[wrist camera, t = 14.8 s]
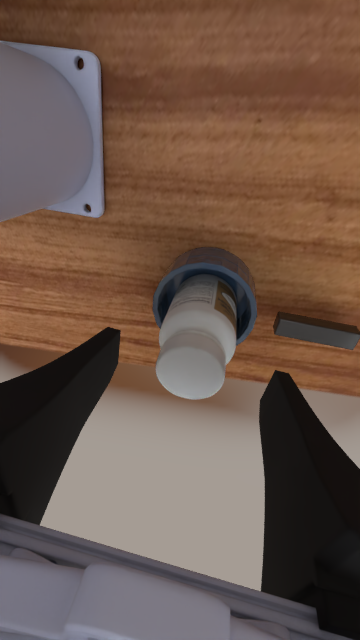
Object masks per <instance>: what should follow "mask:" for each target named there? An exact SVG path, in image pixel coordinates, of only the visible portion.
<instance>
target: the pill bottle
mask: <svg viewBox="0 0 360 640" xmlns="http://www.w3.org/2000/svg"><path fill="white" fill-rule="evenodd" d="M236 316H237V300H236V296H235V293H234V291H233V289H232V287H231V286H230V285H229V284H228V283H227V282H226V281H224V280H223V279H221V278H219V277H217V276H214V275H209V274H200V275H195V276H192V277H190V278H188V279H187V280H185V281H184V282H183V283H182V284H181V285H180V286H179V288H178V289H177V291H176V294H175V296H174V298H173V300H172V303H171V305H170V307H169V310H168V312H167V314H166V316H165V319H164V321H163V323H162V326H161V329H160V333H159V344H160V348H161V350H160V353H159V356H158V359H157V362H156V375H157V378H158V380H159V381H160V383H161V384H162V385H163V386H164V387H165V388H166V389H167V390H168V391H170V392H171V393H173V394H174V395H177V396H179V397H183V398H187V399H203V398H207V397H210V396H212V395H213V394H215V393H216V392H218V391H219V389H220V388H221V387H222V385H223V382H224V379H225V369H226V364H227V363H228V362H229V361H230V360H231V358H232V356H233V354H234V352H235V347H236Z"/></svg>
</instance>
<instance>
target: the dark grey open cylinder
mask: <svg viewBox="0 0 360 640" xmlns="http://www.w3.org/2000/svg"><path fill="white" fill-rule="evenodd" d="M200 274H209V275H214V276H217V277H219V278H221V279H223V280H224V281H226V282H227V283H228V284H229V285H230V286H231V287H232V289H233V291H234V293H235V296H236V300H237V316H236V346H237V345H238V344H240V343H241V342H243V341H244V340H245V339H246V337H247V336H248V335H249V333H250V332H251V331H252V329H253V327H254V324H255V321H256V317H257V306H256V294H255V284H254V281H253V277H252V275H251V272H250V271H249V269H248V267H247V266H246V265H245V264H244V262H242V261H241V260H240V259H239V258H238V257H237V256H235V255H234V254H232V253H230V252H228V251H225V250H223V249H219V248H213V247H202V248H196V249H192V250H190V251H187V252H185V253H183V254H182V255H180V256H179V257H178V258H176V259H175V260H174V261H173V263H172V264H171V265H170V266H169V267H168V269H167V271H166V272H165V274H164V276H163V278H162V279H161V281H160V283H159V285H158V287H157V289H156V291H155V293H154V296H153V313H154V317H155V320H156V323H157V325H158V326H159V328H160V329H161V326H162V323H163V321H164V319H165V316H166V314H167V312H168V310H169V307H170V305H171V303H172V300H173V298H174V296H175V294H176V291H177V289H178V288H179V286H180V285H181V284H182V283H183V282H184V281H185V280H187V279H188V278H190V277H192V276H195V275H200Z"/></svg>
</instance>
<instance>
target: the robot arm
mask: <svg viewBox="0 0 360 640" xmlns="http://www.w3.org/2000/svg"><path fill="white" fill-rule="evenodd" d="M80 58H82V59H83V62H84V67H83V68H82V69H81V70H80V69H79V68H78V60H79V59H80ZM87 204H88V205H90V207H91V212H90V211H88V210H87V208H86V205H87ZM39 209H48V210H54V211H60V212H66V213H71V214H77V215H83V216H89V217H95V218H98V217H100V216H102V215H103V214H104V210H105V208H104V171H103V134H102V97H101V66H100V61H99V59H98V57H97V56H96V55H95V54H94V53H92V52H89V51H84V50H76V49H67V48H59V47H50V46H42V45H33V44H24V43H16V42H7V41H0V222H3V221H6V220H9V219H12V218H15V217H18V216H21V215H24V214H27V213H30V212H33V211H36V210H39ZM120 332H121V330H118V329H114V328H110V327H107V328H105V329H104V330H102V331H101V332H99V333H98V334H97V335H95V336H94V337H92V338H91V339H89V340H88V341H86V342H85V343H83V344H81V345H80V346H78V347H77V348H75V349H73V350H72V351H70V352H68V353H67V354H65V355H63V356H61V357H60V358H58V359H56V360H54V361H52V362H51V363H48V364H46V365H44V366H42V367H40V368H38V369H36V370H33V371H31V372H29V373H26V374H24V375H21V376H19V377H16V378H13V379H11V380H8V381H5V382H2V383H0V640H360V469H359V468H358V467H357V466H356V465H355V463H354V462H353V461H352V460H351V459H350V458H349V457H348V456H347V454H346V453H345V452H344V451H343V450H342V449H341V447H340V446H339V445H338V444H337V443H336V442H335V440H334V439H333V438H332V437H331V435H330V434H329V433H328V431H327V430H326V429H325V427H324V426H323V425H322V423H321V422H320V421H319V419H318V418H317V416H316V415H315V413H314V412H313V411H312V409H311V408H310V406H309V405H308V403H307V401H306V400H305V398H304V397H303V395H302V393H301V392H300V390H299V389H298V387H297V385H296V384H295V382H294V381H293V379H292V378H291V376H290V374H289V373H285V372H281V371H277V370H275V372H274V374H273V376H272V378H271V380H270V382H269V384H268V386H267V388H266V390H265V392H264V394H263V396H262V398H261V400H260V412H259V413H260V414H259V423H260V435H261V444H262V454H263V464H264V476H265V522H264V523H265V524H264V551H263V569H262V584H261V592H260V591H257V590H254V589H250V588H247V587H244V586H240V585H237V584H234V583H230V582H226V581H224V580H220V579H217V578H213V577H210V576H207V575H203V574H200V573H197V572H193V571H190V570H186V569H183V568H180V567H177V566H173V565H170V564H167V563H163V562H160V561H157V560H153V559H150V558H147V557H143V556H140V555H137V554H133V553H129V552H126V551H123V550H120V549H116V548H113V547H110V546H106V545H103V544H99V543H96V542H93V541H90V540H86V539H83V538H79V537H76V536H73V535H69V534H66V533H62V532H59V531H56V530H53V529H49V528H46V527H43V526H40V522H41V520H42V517H43V515H44V513H45V510H46V508H47V505H48V503H49V501H50V498H51V496H52V493H53V491H54V489H55V487H56V484H57V482H58V480H59V477H60V475H61V472H62V470H63V468H64V466H65V464H66V462H67V459H68V457H69V455H70V453H71V450H72V448H73V446H74V444H75V442H76V440H77V438H78V436H79V434H80V432H81V430H82V428H83V426H84V424H85V422H86V421H87V419H88V417H89V416H90V414H91V412H92V411H93V409H94V407H95V406H96V404H97V402H98V401H99V399H100V397H101V396H102V394H103V392H104V391H105V389H106V387H107V386H108V384H109V382H110V380H111V378H112V376H113V373H114V371H115V369H116V367H117V364H118V357H119V344H120Z"/></svg>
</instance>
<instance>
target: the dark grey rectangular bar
mask: <svg viewBox="0 0 360 640" xmlns="http://www.w3.org/2000/svg"><path fill="white" fill-rule="evenodd" d="M273 328H274V334H275V335H280V336H285V337H290V338H295V339H300V340H305V341H310V342H315V343H320V344H325V345H330V346H335V347H340V348H345V349H350V350H353V349H354V347H355V346H356V344H357V342H358V341H359V339H360V331H359V330H358V328H357V327H356V326H353V325H347V324H342V323H337V322H332V321H326V320H321V319H316V318H311V317H306V316H300V315H295V314H290V313H285V312H278V314H277V317H276V319H275V322H274V325H273Z"/></svg>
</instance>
